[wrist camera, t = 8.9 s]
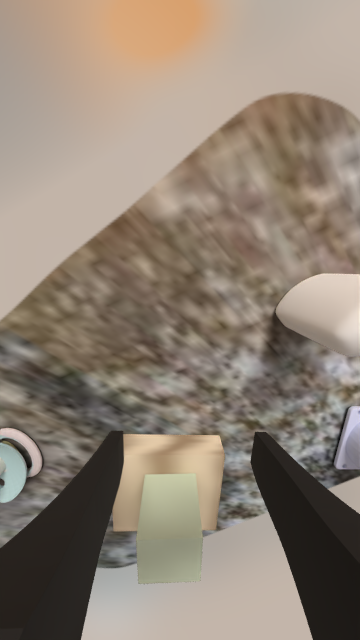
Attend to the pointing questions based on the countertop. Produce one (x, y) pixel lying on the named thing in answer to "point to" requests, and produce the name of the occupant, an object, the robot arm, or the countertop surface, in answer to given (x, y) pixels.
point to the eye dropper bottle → (325, 311)
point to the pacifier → (16, 463)
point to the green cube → (169, 530)
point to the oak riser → (169, 459)
